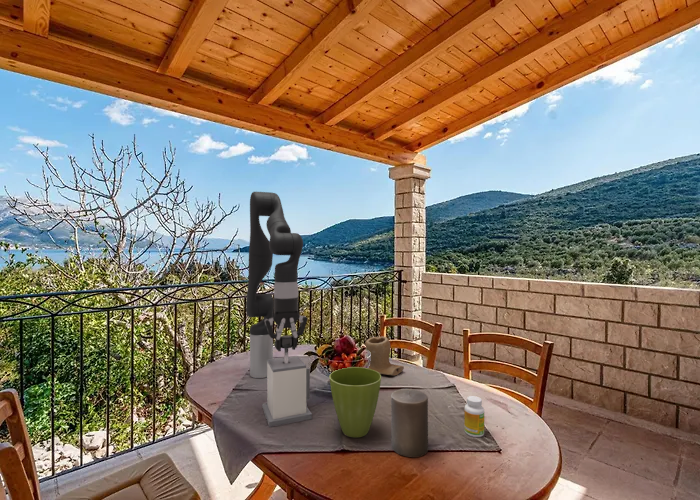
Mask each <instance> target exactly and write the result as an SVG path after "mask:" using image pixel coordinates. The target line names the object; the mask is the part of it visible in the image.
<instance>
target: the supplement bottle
mask: <svg viewBox="0 0 700 500" xmlns="http://www.w3.org/2000/svg"><path fill="white" fill-rule="evenodd" d="M463 411H464V412H463V413H464V418H463V421H464V422H463V423H464V425H463V426H464V432H465V434H466V435H468V436H470V437H474V438H481V437H483V436H484V435H485V408H484V407H483V401H482V398H481V397H479V396H476V395H469V396H467V397H466V404H465V405H464V410H463Z"/></svg>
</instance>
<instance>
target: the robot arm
mask: <svg viewBox="0 0 700 500" xmlns="http://www.w3.org/2000/svg"><path fill="white" fill-rule="evenodd" d="M282 205H283V204H282V201H281V199H280V195H278V194H277V193H276V192H267V191H253V192H252V193H251V194H250V199H249V223H250V224H249V227H250V229H249V232H250V233H249V246H248V247H249V248H248V277H247V278H248V279H247V280H248V281H247V282H248V283H247V290H246V291H247V292H246V301H245V312H246V315H247V317H249V318H261V317H263V319H261V321H259V322H256V323H255V324H252V325H251V326H250V328H249V376H250V377H251V378H254V379H255V378H256V379H262V378H263V379H264V378H267V360H269V359H274V347H275V349H276V350H277V351H278V352H281V351H282V348H281V339H280V337H281V336H282V333H283V330H285V329H287V328H288V329H290V332H291V336H292V337H293V347H291V349H292V350H294V351H295V350H296V348H297V347H298V338H299V337H301V336H303V335H304V332H305V328H306V326H307V322H308V317H307V316H306V315H300V313H299V286H298V268H299V261H300V259H301V258H300V257H301V254H302V251H303V247H304V240H303V237H302V235H300V234H299V233H296V232H292V231H291V227H290V225H289V224H288V222H287V220H286V217H285V214H284V209H283V206H282ZM260 217H267V220H266V224H265V225H266V229H267V230H266V231H267V232H268V235H269V238H268V237H267V236H266V234H265V232H264V230H263V228H262V225H261V223H260V222H261V221H260ZM273 255H276V256H289V258H288V259H287V260H286V261H283V262H280V263H276V264H275V265H274V287H273V288H274V289H273V295H272V294H271V293H264V294H263V293H260V294H259V293H258V294H257V292H258V288H259V286H260V284H261V283H262V281H263V279H264V278H265V277H266V276H267V274H268V273H269V271H271V268H272V266H273ZM298 321H299V322H300V323H299V326H298V328H297V327H296V324H297V322H298ZM274 323H275V324H276V329H275V330H276V331H275V333H274ZM297 329H298V330H297ZM274 341H275V342H274ZM274 343H275V346H274Z"/></svg>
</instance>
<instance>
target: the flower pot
mask: <svg viewBox="0 0 700 500" xmlns="http://www.w3.org/2000/svg"><path fill="white" fill-rule="evenodd" d="M328 377H329V387H330V391H331V395H332V396H331V398H332V401H333V405H334V409H335V413H336V416H337V419H338V423H339V425H340V428H341V430H342V433H343V434H344V435H345V436H346V435H347V437H349V438H362V437H364V436H367V434H368V433H369V432H370V429H371V425H372V423H373V420H374V416H375V413H376V409H377V404H378V401H379V395H380V390H381V381H382V374H380V373H378V372H377V371H375V370H372V369H368V368H366V367H362V366H360V367H359V366H349V367H348V366H347V368H342V369H338V370H335V371H333V372H332V373H331V374H330V375H328Z"/></svg>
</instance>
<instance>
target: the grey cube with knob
mask: <svg viewBox="0 0 700 500" xmlns="http://www.w3.org/2000/svg"><path fill="white" fill-rule="evenodd" d="M310 370H311V369H310V367H307V365H306V363H305V362H304V361H303V360H302V359H301V358H300V356H299V355H294V356H288V363H286V364H284V357H278V358H273V359H269V360H267V377H266V378H267V379H266V381H267V384H266V387H267V390H266V391H267V393H266V397H267V400H266V401H267V402H265V403H262V408H263V409H262V411H264V412H263V414H264V417H265V419H267V420H266V423H267V424H268V428H272V427H276V426H283V425H288V424H292V423H298V422H303V421H308V420H313V413H312V411H310V409H309V407H308V406H307V401H308V400H309V401H310V400H311V394H310V393H311V384H310V383H311V381H310V379H311V377H310V376H311V375H310V374H311V373H310Z"/></svg>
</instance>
